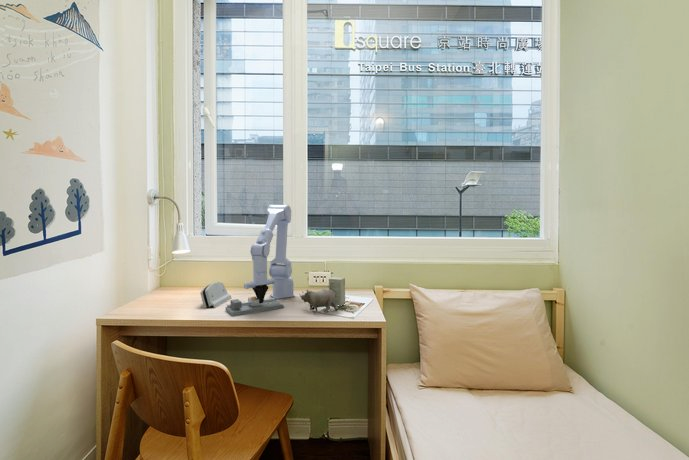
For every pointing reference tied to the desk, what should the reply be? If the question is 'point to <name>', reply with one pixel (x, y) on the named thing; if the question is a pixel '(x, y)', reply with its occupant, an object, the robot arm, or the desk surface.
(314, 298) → the grey four-legged figurine
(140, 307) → the desk surface
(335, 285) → the skincare box
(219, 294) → the grey upright panel
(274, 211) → the robot arm
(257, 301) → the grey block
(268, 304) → the hole board
